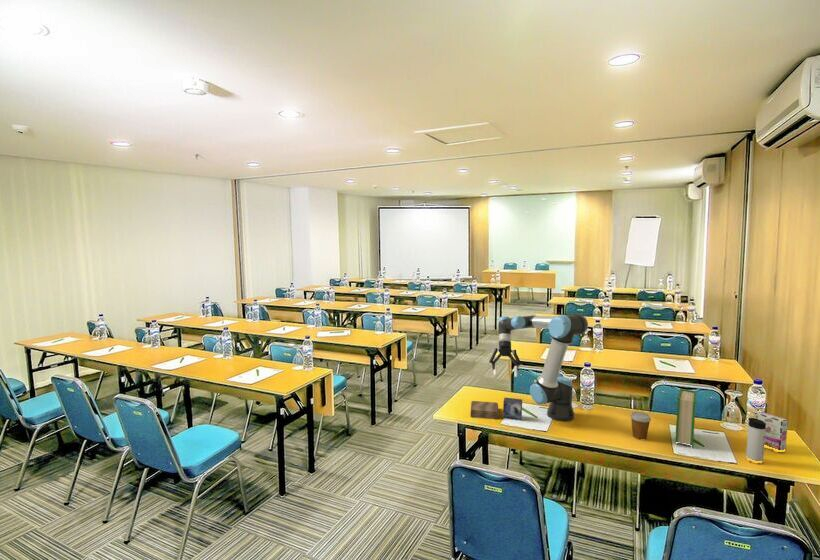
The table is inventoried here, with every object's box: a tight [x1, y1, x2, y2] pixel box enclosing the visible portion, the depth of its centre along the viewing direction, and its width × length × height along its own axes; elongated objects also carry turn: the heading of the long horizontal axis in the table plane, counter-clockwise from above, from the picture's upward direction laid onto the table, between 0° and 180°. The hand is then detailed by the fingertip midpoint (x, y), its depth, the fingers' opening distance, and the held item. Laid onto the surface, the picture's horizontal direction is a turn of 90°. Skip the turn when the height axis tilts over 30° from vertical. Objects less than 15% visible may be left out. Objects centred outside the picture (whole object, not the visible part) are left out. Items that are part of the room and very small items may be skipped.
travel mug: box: [745, 417, 766, 462], centre depth 198 cm, size 6×7×20 cm
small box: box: [502, 397, 523, 421], centre depth 247 cm, size 11×6×10 cm, turn 73°
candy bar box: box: [756, 411, 789, 450], centre depth 212 cm, size 11×5×16 cm, turn 21°
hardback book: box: [674, 388, 697, 447], centre depth 220 cm, size 18×7×24 cm, turn 145°
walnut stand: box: [470, 400, 500, 420], centre depth 254 cm, size 16×16×4 cm
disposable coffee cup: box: [629, 411, 652, 440], centre depth 223 cm, size 10×10×12 cm
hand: (505, 375), depth 260 cm, fingers open, 13 cm apart
